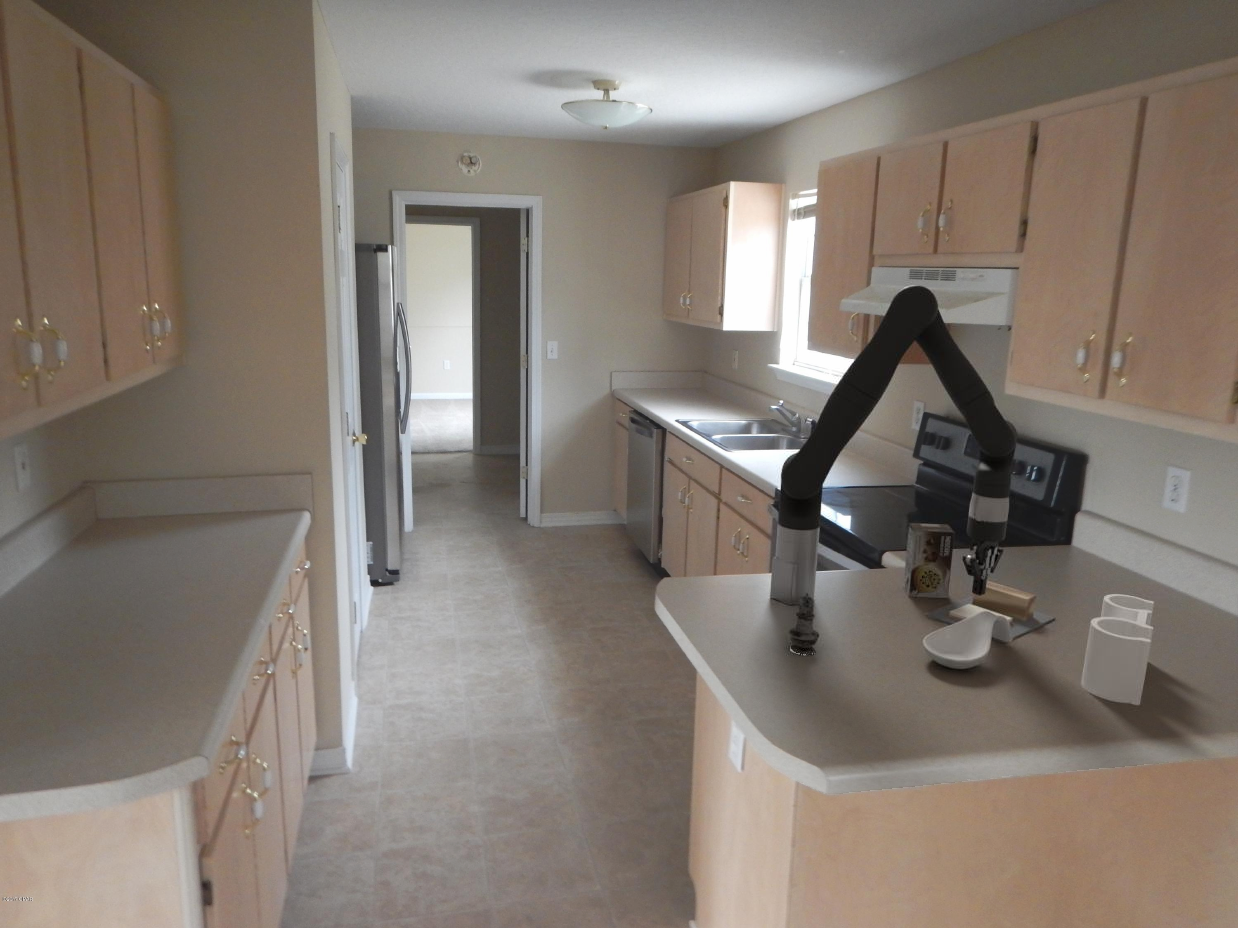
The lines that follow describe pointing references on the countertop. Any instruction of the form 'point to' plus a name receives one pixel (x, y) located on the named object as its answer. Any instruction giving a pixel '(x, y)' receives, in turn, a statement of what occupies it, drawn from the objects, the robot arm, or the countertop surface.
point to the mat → (1016, 625)
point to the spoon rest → (967, 640)
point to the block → (1006, 601)
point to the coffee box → (928, 560)
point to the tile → (971, 612)
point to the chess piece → (804, 628)
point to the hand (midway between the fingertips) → (978, 593)
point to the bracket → (1119, 649)
